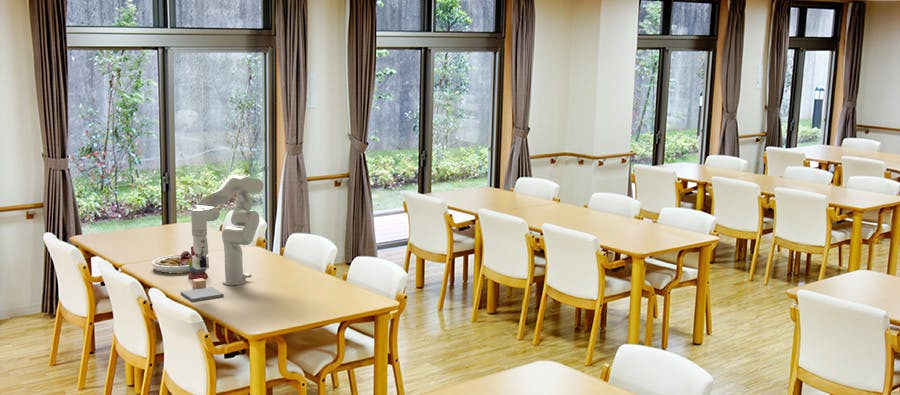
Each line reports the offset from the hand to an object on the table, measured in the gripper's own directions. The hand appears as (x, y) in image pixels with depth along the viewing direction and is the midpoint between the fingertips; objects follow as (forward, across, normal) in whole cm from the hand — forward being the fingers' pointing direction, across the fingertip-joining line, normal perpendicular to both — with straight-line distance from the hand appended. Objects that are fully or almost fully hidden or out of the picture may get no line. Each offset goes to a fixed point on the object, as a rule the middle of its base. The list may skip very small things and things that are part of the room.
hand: (200, 265), depth 487 cm
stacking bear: (+16, +39, -12) cm, 44 cm away
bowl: (+17, +64, -10) cm, 67 cm away
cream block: (+1, 0, 0) cm, 1 cm away
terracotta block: (+16, +14, -4) cm, 22 cm away
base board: (+16, 0, 0) cm, 16 cm away
